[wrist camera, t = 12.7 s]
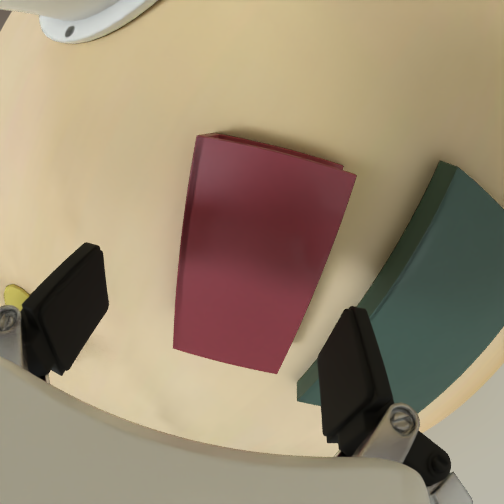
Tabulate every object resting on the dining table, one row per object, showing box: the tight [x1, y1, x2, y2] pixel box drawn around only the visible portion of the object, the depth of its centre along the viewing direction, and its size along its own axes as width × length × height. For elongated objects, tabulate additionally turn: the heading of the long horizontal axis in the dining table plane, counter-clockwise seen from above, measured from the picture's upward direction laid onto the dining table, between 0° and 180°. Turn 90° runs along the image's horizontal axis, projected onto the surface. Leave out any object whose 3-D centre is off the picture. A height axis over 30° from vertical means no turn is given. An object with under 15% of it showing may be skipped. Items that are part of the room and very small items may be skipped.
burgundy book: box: [173, 133, 357, 374], centre depth 15 cm, size 13×7×3 cm, turn 167°
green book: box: [297, 161, 504, 414], centre depth 16 cm, size 20×14×2 cm
